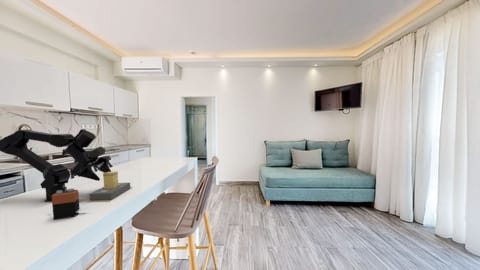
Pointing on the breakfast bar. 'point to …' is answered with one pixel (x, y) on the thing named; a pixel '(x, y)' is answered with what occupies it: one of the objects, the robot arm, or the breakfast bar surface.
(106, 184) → the plug
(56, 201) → the battery
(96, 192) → the panel
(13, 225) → the breakfast bar surface
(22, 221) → the breakfast bar surface
